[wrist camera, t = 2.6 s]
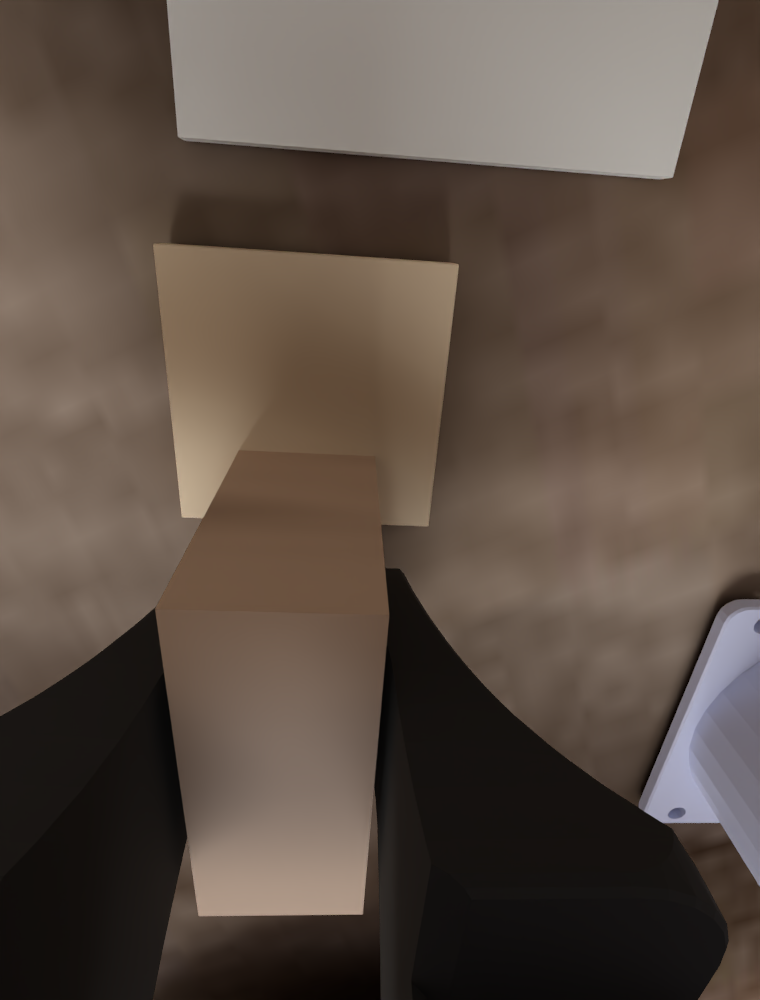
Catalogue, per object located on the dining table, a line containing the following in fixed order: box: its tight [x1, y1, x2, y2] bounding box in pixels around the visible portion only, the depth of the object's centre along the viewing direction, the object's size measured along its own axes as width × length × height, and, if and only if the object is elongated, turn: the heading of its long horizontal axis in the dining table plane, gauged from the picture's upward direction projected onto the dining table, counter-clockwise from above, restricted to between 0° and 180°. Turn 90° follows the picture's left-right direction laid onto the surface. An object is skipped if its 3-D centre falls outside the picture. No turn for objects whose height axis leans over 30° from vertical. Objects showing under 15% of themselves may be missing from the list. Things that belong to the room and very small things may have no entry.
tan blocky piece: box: [153, 243, 459, 916], centre depth 9 cm, size 10×5×6 cm, turn 176°
